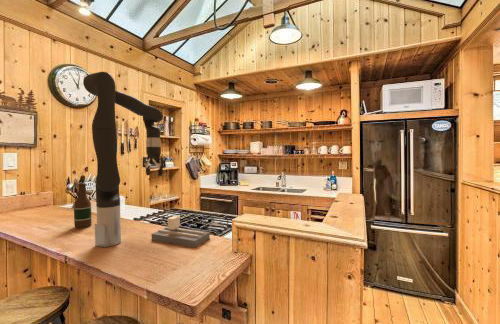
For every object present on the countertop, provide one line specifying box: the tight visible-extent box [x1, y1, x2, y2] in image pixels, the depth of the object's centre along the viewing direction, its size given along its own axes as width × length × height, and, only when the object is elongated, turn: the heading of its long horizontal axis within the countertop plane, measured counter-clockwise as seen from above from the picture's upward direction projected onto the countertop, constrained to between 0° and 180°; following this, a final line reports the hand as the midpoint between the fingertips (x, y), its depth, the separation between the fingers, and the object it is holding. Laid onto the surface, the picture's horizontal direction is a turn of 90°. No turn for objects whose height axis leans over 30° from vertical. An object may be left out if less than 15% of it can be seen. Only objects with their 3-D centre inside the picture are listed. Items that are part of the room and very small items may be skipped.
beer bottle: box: [73, 182, 92, 230], centre depth 134 cm, size 8×8×24 cm
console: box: [151, 226, 211, 249], centre depth 115 cm, size 12×24×4 cm, turn 69°
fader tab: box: [167, 215, 181, 232], centre depth 117 cm, size 5×3×7 cm, turn 159°
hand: (154, 175), depth 135 cm, fingers open, 8 cm apart
